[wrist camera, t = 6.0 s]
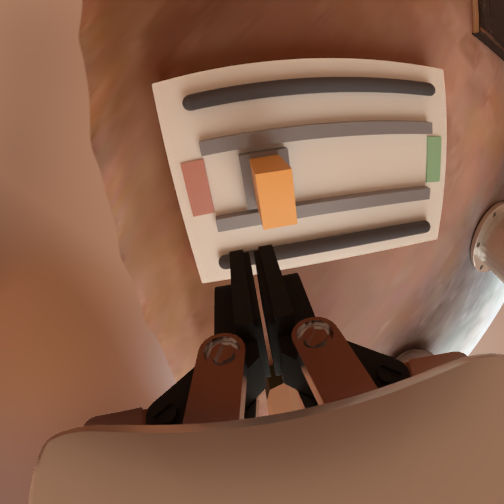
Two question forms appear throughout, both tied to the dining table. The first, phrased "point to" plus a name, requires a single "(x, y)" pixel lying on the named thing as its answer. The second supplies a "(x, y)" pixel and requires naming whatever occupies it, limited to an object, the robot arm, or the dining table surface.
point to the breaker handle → (269, 186)
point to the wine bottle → (280, 395)
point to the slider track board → (306, 157)
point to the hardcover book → (489, 24)
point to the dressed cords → (309, 87)
